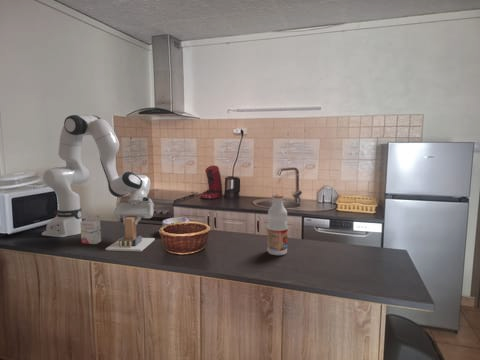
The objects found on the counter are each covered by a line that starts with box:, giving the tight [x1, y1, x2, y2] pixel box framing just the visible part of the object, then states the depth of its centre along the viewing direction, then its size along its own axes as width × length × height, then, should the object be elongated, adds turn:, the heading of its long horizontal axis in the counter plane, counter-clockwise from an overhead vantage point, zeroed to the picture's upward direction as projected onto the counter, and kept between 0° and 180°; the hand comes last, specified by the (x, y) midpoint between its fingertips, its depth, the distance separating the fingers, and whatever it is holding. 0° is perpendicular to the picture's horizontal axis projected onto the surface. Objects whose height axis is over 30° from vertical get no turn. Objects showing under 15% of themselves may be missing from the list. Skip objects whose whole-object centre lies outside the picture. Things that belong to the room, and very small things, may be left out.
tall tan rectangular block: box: [124, 217, 137, 240], centre depth 160 cm, size 4×4×12 cm
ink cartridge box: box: [80, 214, 102, 245], centre depth 164 cm, size 9×5×15 cm, turn 84°
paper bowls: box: [161, 217, 190, 227], centre depth 181 cm, size 15×15×8 cm
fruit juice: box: [266, 193, 288, 256], centre depth 148 cm, size 9×9×28 cm
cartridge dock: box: [105, 235, 156, 252], centre depth 161 cm, size 18×18×4 cm
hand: (129, 224), depth 159 cm, fingers closed on tall tan rectangular block, 4 cm apart
